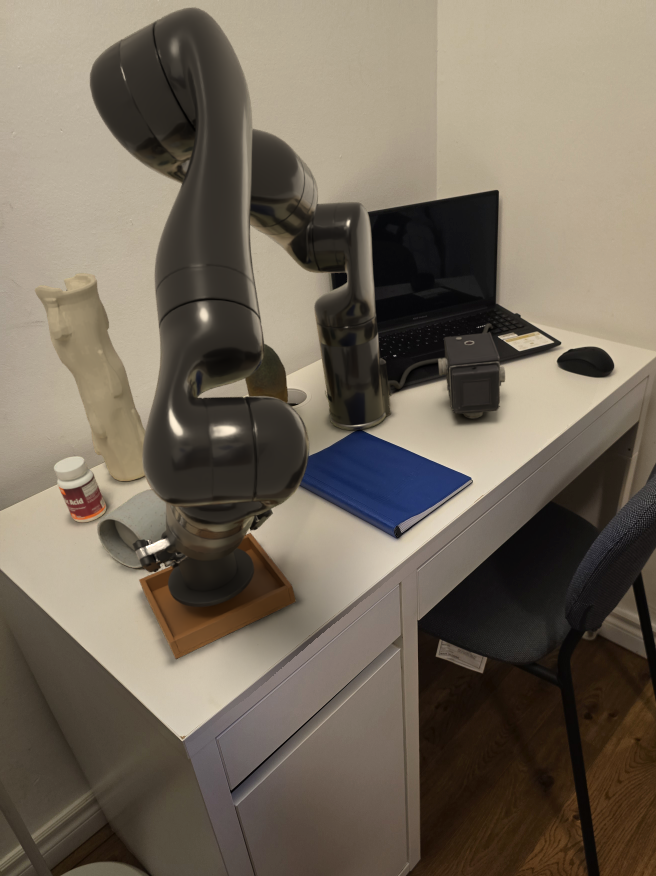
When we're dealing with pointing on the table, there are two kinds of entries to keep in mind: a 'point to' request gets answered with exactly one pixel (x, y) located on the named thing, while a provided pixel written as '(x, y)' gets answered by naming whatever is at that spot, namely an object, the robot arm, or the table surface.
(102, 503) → the pill bottle
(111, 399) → the vase
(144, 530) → the ceramic mug
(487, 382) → the camera
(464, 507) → the table surface
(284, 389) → the decorative stone
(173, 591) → the flanged dark cylinder
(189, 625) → the tray
